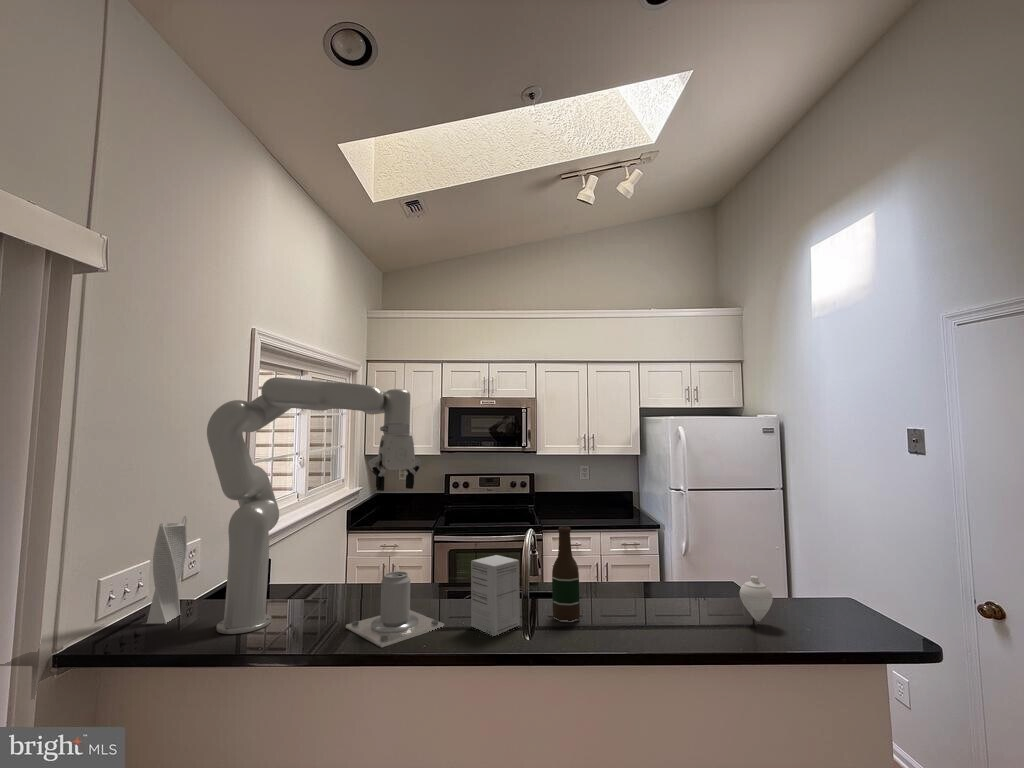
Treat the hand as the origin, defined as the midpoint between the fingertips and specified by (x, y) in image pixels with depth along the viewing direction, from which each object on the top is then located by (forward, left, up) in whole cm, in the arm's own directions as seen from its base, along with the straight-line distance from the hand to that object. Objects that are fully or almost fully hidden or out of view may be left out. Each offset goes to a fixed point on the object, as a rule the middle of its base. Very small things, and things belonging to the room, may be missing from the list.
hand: (395, 489), depth 137 cm
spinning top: (+77, +61, -34) cm, 104 cm away
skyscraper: (-41, -46, -35) cm, 71 cm away
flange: (+10, -5, -34) cm, 36 cm away
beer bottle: (+38, +31, -34) cm, 60 cm away
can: (+10, -5, -33) cm, 35 cm away
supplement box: (+29, +13, -34) cm, 47 cm away
